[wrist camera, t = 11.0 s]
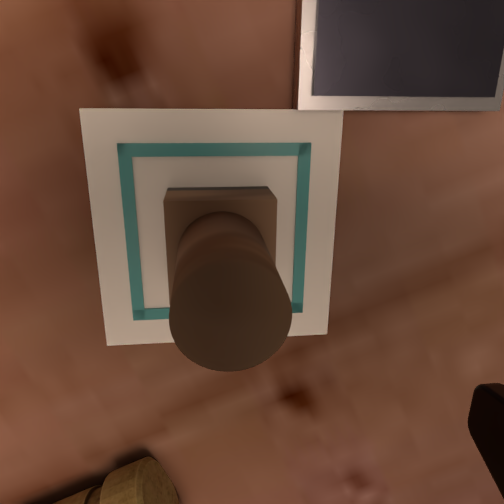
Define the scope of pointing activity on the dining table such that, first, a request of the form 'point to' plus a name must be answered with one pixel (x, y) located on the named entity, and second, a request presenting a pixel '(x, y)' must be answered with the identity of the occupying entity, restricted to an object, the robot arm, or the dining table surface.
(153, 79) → the dining table surface
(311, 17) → the ink pad
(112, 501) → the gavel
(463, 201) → the dining table surface
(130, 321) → the print card
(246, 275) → the stamp
